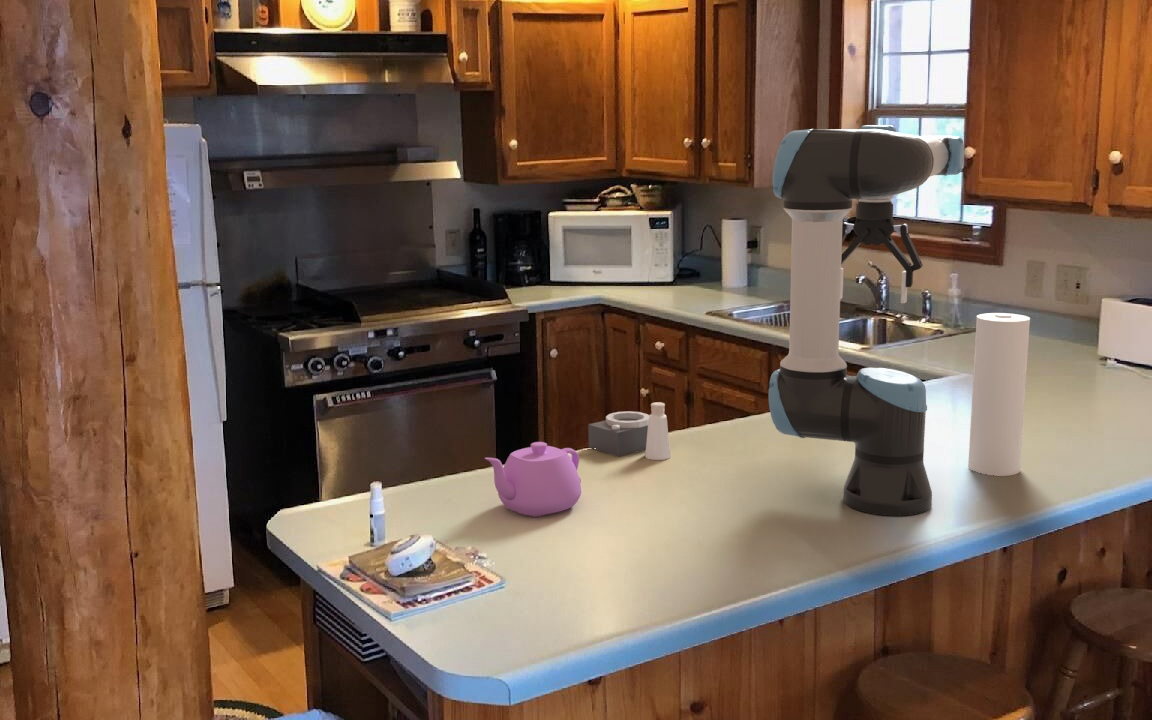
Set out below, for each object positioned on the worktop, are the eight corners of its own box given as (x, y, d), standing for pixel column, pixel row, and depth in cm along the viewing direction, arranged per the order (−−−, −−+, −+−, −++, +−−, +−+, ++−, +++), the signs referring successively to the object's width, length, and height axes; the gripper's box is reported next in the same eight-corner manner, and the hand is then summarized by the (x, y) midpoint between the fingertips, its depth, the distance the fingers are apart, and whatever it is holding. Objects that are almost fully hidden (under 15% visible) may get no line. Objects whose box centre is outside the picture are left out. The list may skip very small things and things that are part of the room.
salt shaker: (640, 454, 241) (639, 401, 239) (664, 451, 243) (664, 399, 241) (651, 461, 236) (650, 407, 234) (675, 458, 238) (676, 405, 236)
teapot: (557, 488, 221) (556, 427, 218) (602, 506, 210) (602, 442, 208) (466, 511, 209) (464, 446, 206) (509, 531, 198) (508, 464, 196)
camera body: (638, 435, 255) (638, 407, 254) (667, 443, 249) (667, 415, 247) (588, 447, 247) (588, 418, 245) (617, 456, 240) (617, 427, 239)
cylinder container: (986, 477, 223) (996, 320, 217) (958, 463, 232) (966, 312, 226) (1030, 473, 226) (1041, 317, 219) (1000, 459, 235) (1009, 309, 228)
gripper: (939, 200, 247) (934, 301, 251) (820, 197, 258) (817, 294, 262) (933, 202, 240) (928, 306, 245) (811, 200, 251) (808, 299, 255)
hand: (871, 300), depth 253 cm, fingers open, 13 cm apart
